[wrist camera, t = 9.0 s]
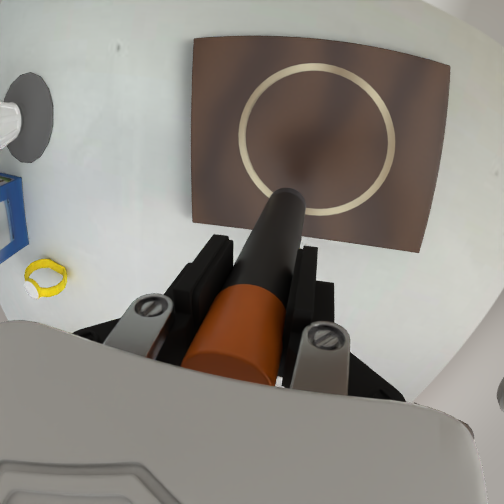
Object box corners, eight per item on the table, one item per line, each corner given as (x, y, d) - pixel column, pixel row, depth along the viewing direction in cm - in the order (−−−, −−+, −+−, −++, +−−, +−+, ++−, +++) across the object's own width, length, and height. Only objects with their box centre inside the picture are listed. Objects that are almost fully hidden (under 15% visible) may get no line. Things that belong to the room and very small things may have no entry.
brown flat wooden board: (445, 67, 18) (451, 65, 16) (415, 247, 25) (419, 254, 24) (198, 40, 21) (192, 37, 20) (196, 217, 29) (191, 223, 27)
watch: (44, 265, 37) (16, 286, 32) (43, 249, 36) (14, 270, 30) (74, 284, 37) (47, 309, 32) (74, 268, 36) (45, 293, 30)
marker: (308, 188, 19) (278, 362, 7) (304, 226, 20) (269, 419, 8) (268, 184, 19) (173, 342, 7) (266, 221, 20) (184, 401, 8)
